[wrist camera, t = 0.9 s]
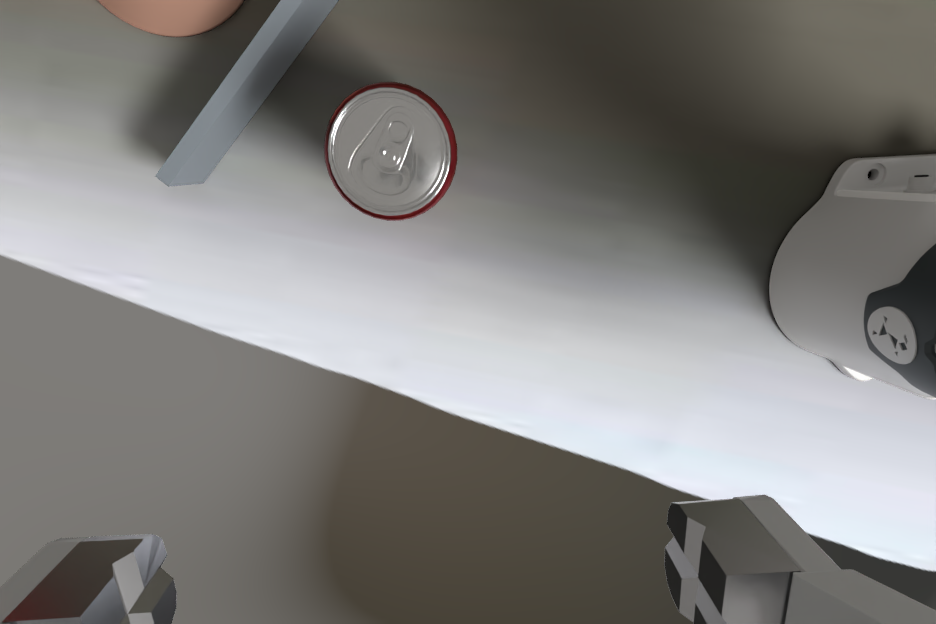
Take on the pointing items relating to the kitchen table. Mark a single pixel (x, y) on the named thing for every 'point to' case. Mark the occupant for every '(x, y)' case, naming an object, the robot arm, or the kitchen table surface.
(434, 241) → the kitchen table surface
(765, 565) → the robot arm
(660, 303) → the kitchen table surface
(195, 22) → the terracotta mat
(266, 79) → the acrylic wall
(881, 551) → the kitchen table surface
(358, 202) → the soda can
